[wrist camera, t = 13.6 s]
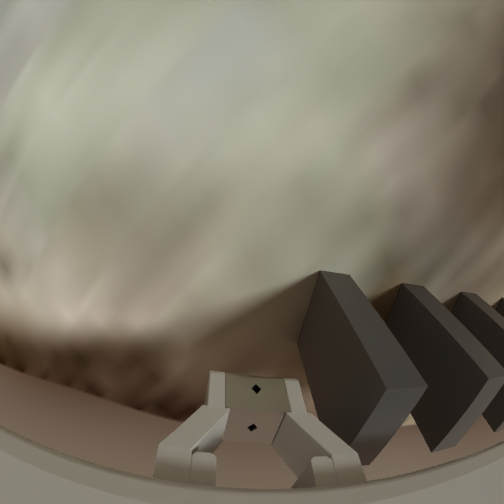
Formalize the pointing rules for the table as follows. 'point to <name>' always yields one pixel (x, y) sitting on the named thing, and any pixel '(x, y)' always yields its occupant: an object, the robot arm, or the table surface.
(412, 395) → the dark grey rectangular block
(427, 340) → the tile
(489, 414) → the tile
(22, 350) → the table surface
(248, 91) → the table surface
